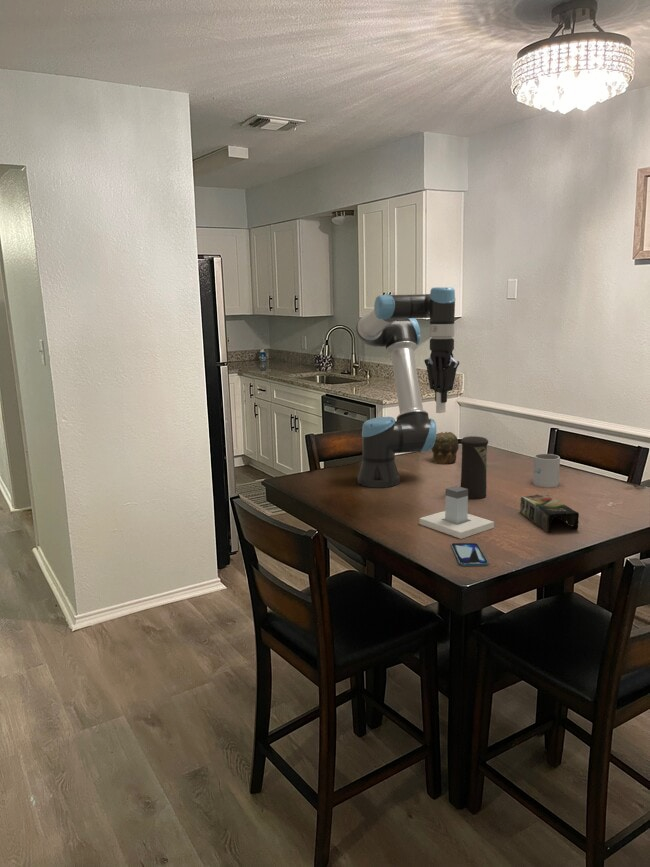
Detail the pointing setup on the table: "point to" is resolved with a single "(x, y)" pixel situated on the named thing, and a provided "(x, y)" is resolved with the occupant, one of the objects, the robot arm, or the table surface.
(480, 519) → the socket
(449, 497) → the plug
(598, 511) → the table surface
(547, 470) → the mug
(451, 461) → the brown rounded lump
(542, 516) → the juice carton
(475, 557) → the smartphone
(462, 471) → the container
